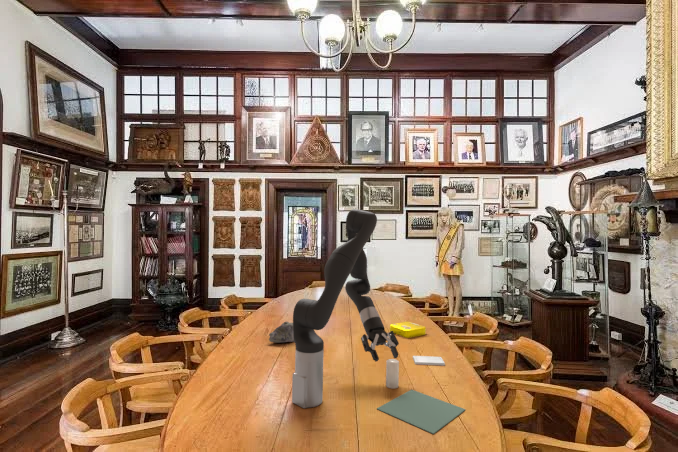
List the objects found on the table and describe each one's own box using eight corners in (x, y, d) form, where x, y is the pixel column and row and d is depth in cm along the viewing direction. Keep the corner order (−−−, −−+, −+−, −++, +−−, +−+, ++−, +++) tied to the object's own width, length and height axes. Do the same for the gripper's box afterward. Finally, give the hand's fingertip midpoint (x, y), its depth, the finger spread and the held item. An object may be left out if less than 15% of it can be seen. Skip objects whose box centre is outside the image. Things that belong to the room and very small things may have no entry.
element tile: (427, 334, 204) (427, 326, 204) (407, 339, 196) (407, 329, 196) (407, 328, 217) (407, 320, 217) (388, 332, 208) (388, 323, 208)
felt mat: (433, 434, 105) (433, 433, 105) (376, 409, 119) (376, 408, 119) (465, 410, 119) (465, 409, 119) (411, 390, 133) (411, 389, 133)
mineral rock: (268, 344, 180) (268, 324, 180) (271, 338, 191) (272, 318, 191) (295, 345, 181) (295, 324, 181) (297, 338, 191) (297, 319, 191)
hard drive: (440, 356, 166) (412, 355, 167) (444, 363, 158) (415, 361, 159) (440, 360, 166) (412, 358, 167) (444, 367, 158) (415, 365, 159)
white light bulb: (393, 389, 133) (394, 364, 133) (383, 385, 136) (383, 361, 136) (400, 386, 137) (401, 361, 137) (390, 382, 140) (391, 358, 140)
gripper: (359, 317, 145) (374, 356, 134) (390, 314, 151) (407, 351, 141) (352, 327, 149) (366, 366, 139) (382, 324, 156) (398, 361, 145)
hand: (387, 359), depth 140 cm, fingers open, 8 cm apart
